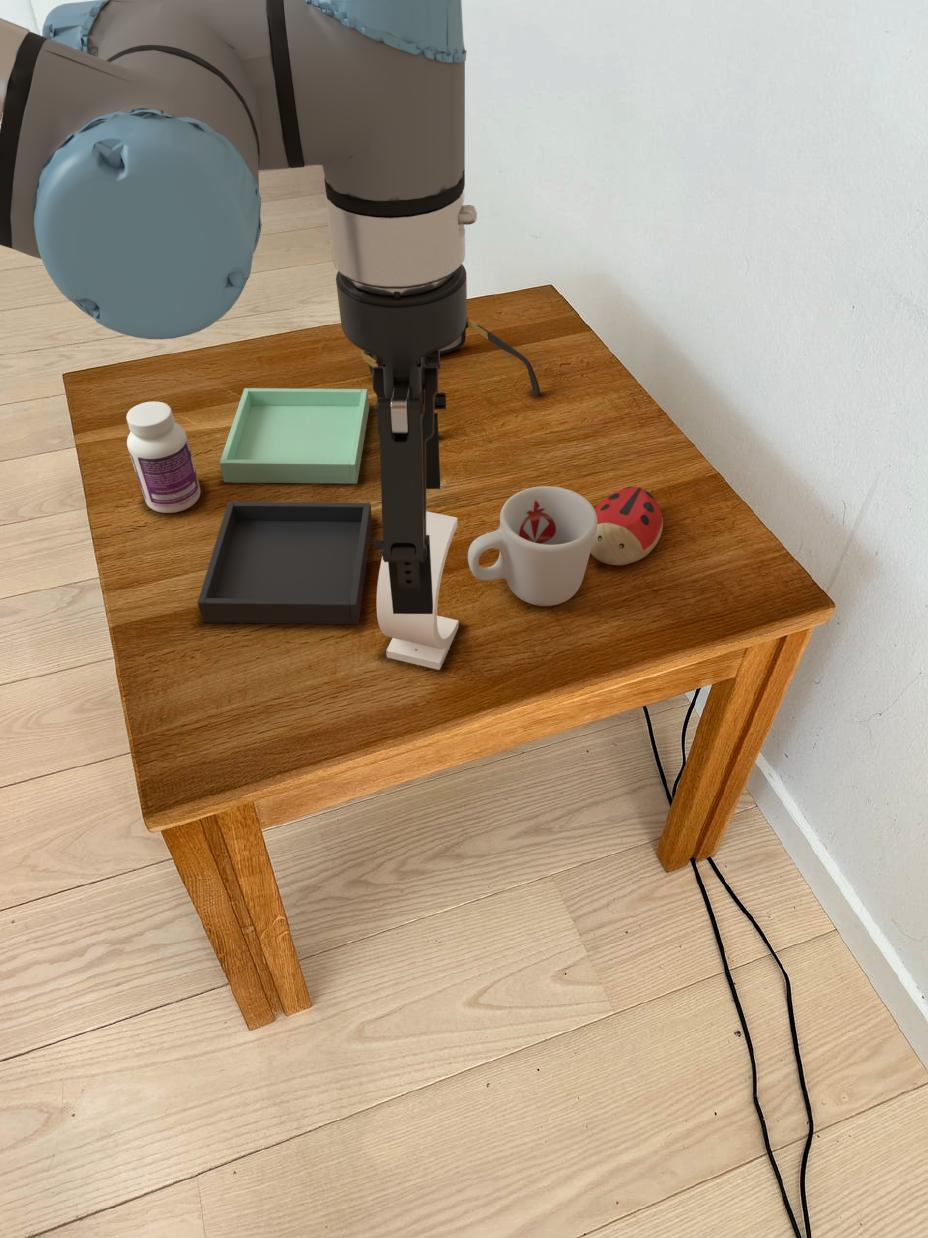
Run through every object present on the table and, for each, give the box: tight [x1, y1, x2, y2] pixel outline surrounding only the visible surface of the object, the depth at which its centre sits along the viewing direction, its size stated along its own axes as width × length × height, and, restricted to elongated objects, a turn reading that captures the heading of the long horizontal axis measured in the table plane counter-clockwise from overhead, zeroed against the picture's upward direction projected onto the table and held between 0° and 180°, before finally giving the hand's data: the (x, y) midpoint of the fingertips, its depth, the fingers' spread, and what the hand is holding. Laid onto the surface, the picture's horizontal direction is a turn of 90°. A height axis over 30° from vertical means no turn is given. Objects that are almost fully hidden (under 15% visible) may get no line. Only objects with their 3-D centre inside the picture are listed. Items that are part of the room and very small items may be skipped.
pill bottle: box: [126, 401, 202, 514], centre depth 86 cm, size 5×5×10 cm
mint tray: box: [219, 387, 370, 485], centre depth 95 cm, size 13×13×2 cm
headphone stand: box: [376, 510, 460, 671], centre depth 72 cm, size 5×6×12 cm
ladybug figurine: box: [590, 486, 664, 566], centre depth 85 cm, size 7×10×4 cm
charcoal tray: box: [196, 501, 373, 625], centre depth 82 cm, size 13×13×2 cm
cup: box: [467, 485, 597, 607], centre depth 78 cm, size 11×8×8 cm
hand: (418, 544), depth 68 cm, fingers open, 13 cm apart
